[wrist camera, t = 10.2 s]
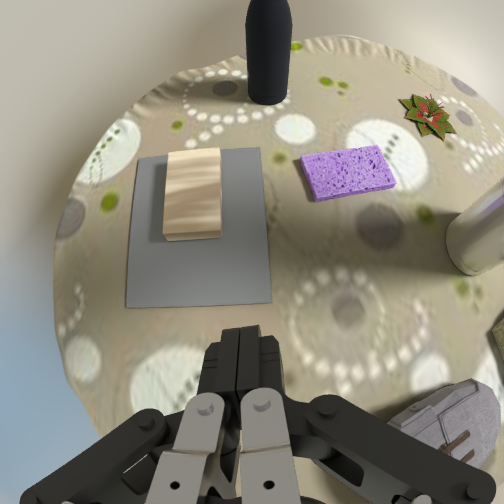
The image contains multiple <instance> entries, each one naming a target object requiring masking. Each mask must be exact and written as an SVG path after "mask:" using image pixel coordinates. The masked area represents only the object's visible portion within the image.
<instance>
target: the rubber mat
mask: <svg viewBox="0 0 504 504" xmlns="http://www.w3.org/2000/svg"><path fill="white" fill-rule="evenodd" d="M220 153H221V165H222V230H223V238H209V239H193V240H178V241H167V239H166V238H165V237H164V235H163V217H164V201H165V188H166V176H167V165H168V155H164V156H156V157H148V158H141V159H139V164H138V170H137V178H136V185H135V193H134V202H133V211H132V220H131V231H130V243H129V257H128V275H127V301H126V308H168V307H201V306H225V305H245V304H262V303H272V296H271V281H270V267H269V254H268V240H267V227H266V214H265V202H264V189H263V177H262V165H261V153H260V147H256V148H239V149H224V150H220Z"/></svg>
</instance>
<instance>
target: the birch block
mask: <svg viewBox="0 0 504 504" xmlns="http://www.w3.org/2000/svg"><path fill="white" fill-rule="evenodd" d="M163 235H164V237H165V238H166V239H167V241H178V240H193V239H209V238H223V230H222V165H221V153H220V147H218V148H206V149H196V150H186V151H177V152H169V155H168V165H167V176H166V188H165V201H164V217H163Z"/></svg>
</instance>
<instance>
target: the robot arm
mask: <svg viewBox="0 0 504 504" xmlns="http://www.w3.org/2000/svg"><path fill="white" fill-rule="evenodd" d="M446 246H447V250H448V253H449V256H450V258H451V260H452V261H453V263H454V264H455V266H456V267H457V268H458V269H459V270H460V271H462V272H463V273H465V274H468V275H472V276H475V275H479V274H482V273H484V272H486V271H488V270H490V269H492V268H494V267H496V266H498V265H500V264H502V263H504V177H502V178H501V179H500V180H499V181H498V182H497V183H496V184H495V185H494V186H493V187H491V188H490V189H489V190H488V191H487V192H486V193H485V194H484V195H482V196H481V197H480V198H479V199H478V200H477V201H475V202H474V203H473V204H472V205H471V206H470V207H468V208H467V209H466V210H465V211H464V212H462V213H461V214H460V215H459V216H458V217H456V218H455V219H454V220H453V221H452V222H451V223H450V224H449V226H448V228H447V232H446ZM240 430H242V441H243V451H242V452H241V453H240V450H241V443H240V441H239V440H240ZM145 455H147V456H146V457H145V458H143V457H144V456H145ZM293 456H296V457H303V458H311V460H312V461H313V462H314V463H315V464H316V465H318V466H319V467H320V468H322V469H323V470H324V471H326V472H327V473H329V474H330V475H331V476H333V477H334V478H335V479H337V480H338V481H340V482H341V483H343V484H344V485H346V486H347V487H348V488H350V489H351V490H353V491H354V492H356V493H357V494H359V495H360V496H362V497H363V498H365V499H366V500H368V501H370V502H371V503H373V504H490V503H491V502H492V501H493V499H494V497H495V494H496V483H495V481H494V479H493V477H492V476H491V475H489V474H488V473H486V472H484V471H482V470H480V469H477V468H475V467H473V466H471V465H469V464H466V463H464V462H462V461H460V460H458V459H456V458H454V457H451V456H449V455H447V454H445V453H443V452H441V451H439V450H437V449H435V448H433V447H431V446H429V445H427V444H425V443H423V442H421V441H419V440H417V439H415V438H413V437H412V436H410V435H408V434H406V433H404V432H402V431H400V430H398V429H396V428H395V427H393V426H391V425H389V424H387V423H385V422H384V421H382V420H380V419H378V418H376V417H375V416H373V415H371V414H369V413H368V412H366V411H364V410H362V409H361V408H359V407H357V406H355V405H354V404H352V403H350V402H349V401H347V400H345V399H343V398H342V397H340V396H337V395H330V394H328V395H322V396H319V397H316V398H314V399H313V400H312V401H311V402H310V403H305V402H298V401H294V400H292V399H290V398H289V397H287V396H286V394H285V384H284V373H283V365H282V359H281V353H280V347H279V342H278V341H277V340H276V339H275V337H274V336H273V335H271V336H264V337H262V336H261V331H260V327H259V325H255V326H247V327H241V328H232V329H224V330H222V335H221V342H215V343H211V345H210V346H209V347H208V349H207V350H206V351H205V355H204V362H203V365H202V370H201V375H200V380H199V385H198V391H197V395H196V396H195V397H193V398H192V399H190V401H189V402H188V403H187V405H186V407H185V410H183V411H180V412H177V413H174V414H170V415H167V416H163V414H162V413H161V412H160V411H159V410H156V409H144V410H141V411H139V412H137V413H136V414H134V415H133V416H132V417H130V418H129V419H128V420H126V421H125V422H124V423H122V424H121V425H119V426H118V427H117V428H115V429H114V430H113V431H111V432H110V433H109V434H107V435H106V436H104V437H103V438H102V439H100V440H99V441H98V442H96V443H95V444H93V445H92V446H91V447H89V448H88V449H86V450H85V451H84V452H82V453H81V454H79V455H78V456H76V457H75V458H73V459H72V460H71V461H69V462H68V463H66V464H65V465H63V466H62V467H60V468H59V469H58V470H56V471H55V472H53V473H51V474H50V475H48V476H47V477H45V478H44V479H42V480H41V481H40V482H38V483H36V484H35V485H33V486H32V487H30V488H28V489H27V490H26V491H25V492H24V493H23V494H22V496H21V498H20V504H325V503H323V502H321V501H319V500H316V499H313V498H309V497H304V496H300V493H299V487H298V482H297V476H296V471H295V465H294V460H293ZM239 457H240V474H241V493H242V496H241V497H237V496H236V489H235V486H236V478H237V471H238V464H239ZM141 458H143V459H142V460H141V461H140V462H138V461H139V460H140V459H141ZM136 462H138V463H137V464H136V465H134V464H135V463H136ZM132 465H134V466H133V467H132V468H131V469H129V468H130V467H131V466H132ZM127 469H129V470H128V471H127V472H125V471H126V470H127ZM124 472H125V473H124Z"/></svg>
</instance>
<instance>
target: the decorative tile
mask: <svg viewBox="0 0 504 504" xmlns="http://www.w3.org/2000/svg"><path fill="white" fill-rule="evenodd" d="M492 332H493V335H494V338H495V340H496V343H497V346H498V349H499V352H500V354H501V357H502V360H503V363H504V317H503V318H502V320H501V321H500V322H498V323H497V324H496V325H495V326H494V328H493V329H492Z"/></svg>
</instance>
